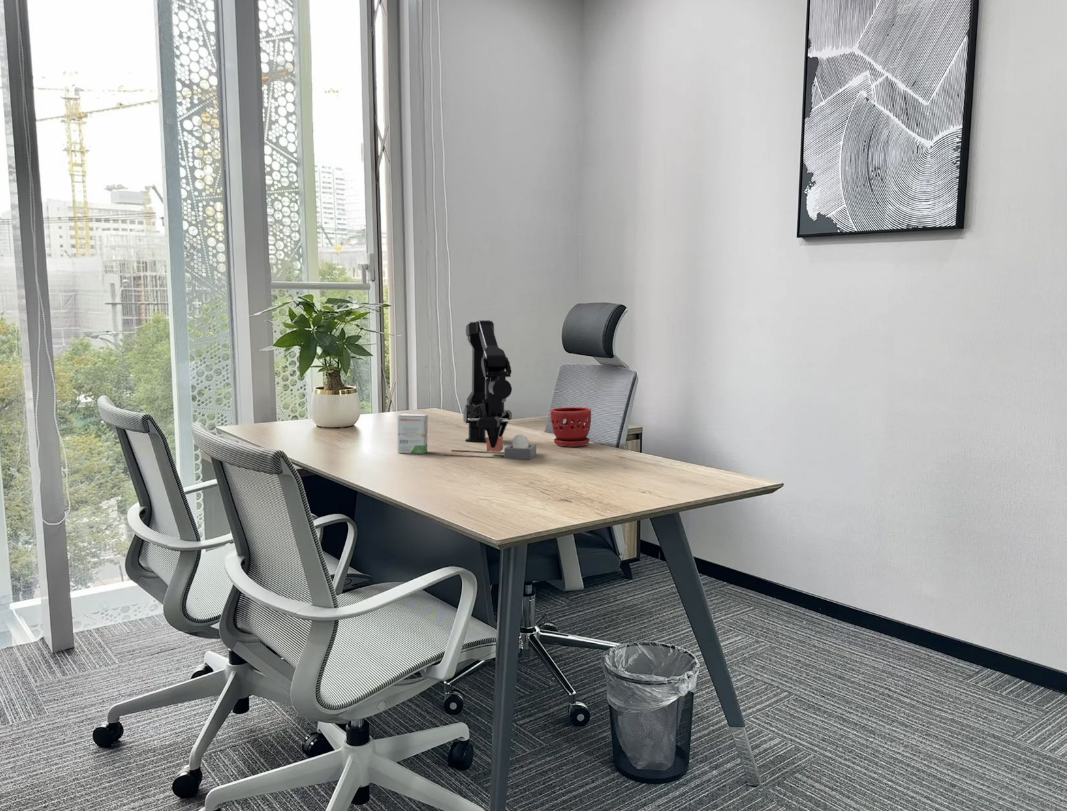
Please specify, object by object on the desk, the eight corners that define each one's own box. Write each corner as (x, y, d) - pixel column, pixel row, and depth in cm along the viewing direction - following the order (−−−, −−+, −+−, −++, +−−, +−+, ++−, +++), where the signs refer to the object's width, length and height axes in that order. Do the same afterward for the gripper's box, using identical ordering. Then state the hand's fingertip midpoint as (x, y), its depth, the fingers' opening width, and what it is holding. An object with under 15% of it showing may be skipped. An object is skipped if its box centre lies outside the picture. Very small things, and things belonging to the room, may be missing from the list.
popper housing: (510, 453, 265) (510, 443, 265) (536, 454, 263) (536, 445, 263) (504, 458, 257) (504, 448, 257) (530, 459, 256) (530, 449, 255)
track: (452, 450, 270) (452, 449, 270) (508, 453, 266) (508, 452, 266) (443, 455, 261) (443, 454, 261) (500, 458, 257) (500, 457, 257)
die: (490, 448, 264) (490, 434, 264) (502, 449, 264) (502, 435, 263) (486, 451, 260) (486, 436, 260) (499, 451, 260) (499, 437, 259)
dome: (514, 453, 263) (514, 432, 262) (530, 454, 262) (530, 433, 261) (510, 456, 259) (510, 435, 258) (526, 456, 258) (526, 435, 257)
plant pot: (588, 441, 288) (589, 406, 286) (592, 448, 275) (593, 411, 273) (549, 441, 288) (549, 406, 286) (551, 448, 275) (551, 411, 273)
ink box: (397, 453, 265) (396, 415, 263) (401, 450, 270) (400, 413, 268) (424, 454, 264) (424, 415, 262) (428, 451, 269) (428, 413, 267)
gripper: (477, 391, 271) (478, 440, 273) (459, 397, 253) (460, 450, 255) (512, 392, 268) (512, 441, 270) (496, 399, 250) (496, 452, 252)
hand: (494, 446), depth 262 cm, fingers closed on die, 4 cm apart
